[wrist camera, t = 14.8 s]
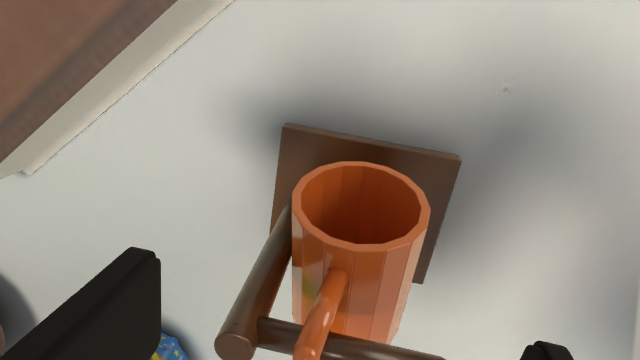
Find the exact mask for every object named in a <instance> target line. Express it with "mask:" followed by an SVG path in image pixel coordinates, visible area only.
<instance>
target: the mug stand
mask: <svg viewBox="0 0 640 360" xmlns="http://www.w3.org/2000/svg"><path fill="white" fill-rule="evenodd" d="M341 161H364V162H369V163H373V164H378V165H382V166H387V167H389V168H391V169H393V170H395V171H397V172H399V173H401V174H403V175H405V176H407V177H409V178H410V179H411V180H412V181H413V182H414V183H415V184H416V185H417V186H418V187H419V188H420V189H422V190H423V192H424V194H425V196H426V199H427V201H428V203H429V206H430V208H431V212H430V217H429V222H428V227H427V231H426V234H425V238H424V241H423V245H422V248H421V252H420V255H419V259H418V262H417V265H416V269H415V272H414V276H413V279H412V282H413V283H418V284H423V281H424V278H425V275H426V272H427V269H428V266H429V263H430V259H431V256H432V253H433V250H434V247H435V244H436V241H437V237H438V234H439V231H440V228H441V225H442V222H443V219H444V215H445V212H446V209H447V206H448V203H449V200H450V196H451V193H452V190H453V187H454V184H455V181H456V178H457V174H458V171H459V168H460V165H461V159H460V158H459V156H458V155H453V154H448V153H442V152H437V151H432V150H427V149H421V148H416V147H411V146H406V145H400V144H395V143H390V142H385V141H379V140H374V139H369V138H364V137H358V136H353V135H348V134H342V133H337V132H332V131H327V130H321V129H316V128H311V127H306V126H300V125H295V124H290V123H286V124H285V125H284V126H283V127H282V134H281V142H280V151H279V159H278V168H277V176H276V184H275V193H274V201H273V209H272V218H271V226H270V234H269V238H268V239H267V241H266V243H265V245H264V247H263V249H262V251H261V253H260V255H259V257H258V259H257V261H256V262H255V264H254V266H253V268H252V270H251V272H250V274H249V276H248V278H247V280H246V282H245V283H244V285H243V287H242V289H241V291H240V293H239V295H238V297H237V299H236V301H235V303H234V305H233V306H232V308H231V310H230V312H229V314H228V316H227V318H226V320H225V322H224V324H223V326H222V328H221V329H220V331H219V333H218V335H217V337H216V339H215V342H214V347H215V351H216V353H217V354H218V356H219V357H220V358H221V359H223V360H251V359H252V357H253V355H254V353H255V350H256V348H257V347H259V348H263V349H267V350H271V351H276V352H280V353H284V354H288V355H293V349H294V346H295V344H296V342H297V339H298V337H299V335H300V333H301V330H302V328H303V326H304V325H300V324H296V323H291V322H287V321H282V320H278V319H274V318H269V317H268V316H269V314H270V311H271V308H272V306H273V303H274V300H275V298H276V295H277V293H278V290H279V287H280V285H281V282H282V279H283V277H284V274H285V272H286V269H287V266H288V264H289V261H290V258H291V256H292V191H293V190H294V188H295V187H296V185H297V184H298V182H299V181H300V179H301V178H302V177H303V176H304V175H306V174H308V173H309V172H311V171H313V170H314V169H316V168H317V167H320V166H323V165H327V164H332V163H336V162H341ZM320 360H446V359H444V358H442V357H440V356H436V355H432V354H427V353H423V352H418V351H414V350H410V349H405V348H401V347H396V346H392V345H388V344H383V343H379V342H375V341H370V340H366V339H361V338H357V337H353V336H348V335H344V334H339V333H335V332H331V331H329V333H328V336H327V339H326V342H325V344H324V347H323V350H322V353H321V355H320Z"/></svg>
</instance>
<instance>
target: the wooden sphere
mask: <svg viewBox="0 0 640 360" xmlns="http://www.w3.org/2000/svg"><path fill="white" fill-rule="evenodd" d="M3 354H5V337H4V332H3V329H2V326H1V323H0V357H1V356H2V355H3Z"/></svg>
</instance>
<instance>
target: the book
mask: <svg viewBox="0 0 640 360" xmlns="http://www.w3.org/2000/svg"><path fill="white" fill-rule="evenodd" d="M232 1H233V0H0V179H2V178H4V177H7V176H9V175H11V174H14V173H16V172H19V171H21V170H22V171H23V172H25V173H26V174H28V175H29V176H30V175H31V174H32V173H33V172H35V171H36V170H37V169H38V168H39V167H40V166H42V165H43V164H44V163H45V162H46V161H47V160H49V159H50V158H51V157H52V156H53V155H54V154H56V153H57V152H58V151H59V150H60V149H61V148H63V147H64V146H65V145H66V144H67V143H68V142H69V141H71V140H72V139H73V138H74V137H75V136H76V135H78V134H79V133H80V132H81V131H82V130H83V129H85V128H86V127H87V126H88V125H89V124H90V123H92V122H93V121H94V120H95V119H96V118H97V117H98V116H100V115H101V114H102V113H103V112H104V111H105V110H107V109H108V108H109V107H110V106H111V105H112V104H114V103H115V102H116V101H117V100H118V99H119V98H121V97H122V96H123V95H124V94H125V93H126V92H128V91H129V90H130V89H131V88H132V87H133V86H134V85H136V84H137V83H138V82H139V81H140V80H141V79H143V78H144V77H145V76H146V75H147V74H148V73H150V72H151V71H152V70H153V69H154V68H155V67H157V66H158V65H159V64H160V63H161V62H162V61H163V60H165V59H166V58H167V57H168V56H169V55H170V54H172V53H173V52H174V51H175V50H176V49H177V48H179V47H180V46H181V45H182V44H183V43H184V42H186V41H187V40H188V39H189V38H190V37H191V36H193V35H194V34H195V33H196V32H197V31H198V30H199V29H201V28H202V27H203V26H204V25H205V24H206V23H208V22H209V21H210V20H211V19H212V18H213V17H215V16H216V15H217V14H218V13H219V12H220V11H222V10H223V9H224V8H225V7H226V6H227V5H228V4H230V3H231V2H232Z"/></svg>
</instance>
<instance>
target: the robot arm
mask: <svg viewBox="0 0 640 360" xmlns="http://www.w3.org/2000/svg"><path fill="white" fill-rule="evenodd" d="M160 339H161V262H160V259H158V258H156V255H155V253H154V252H153V251H149V250H145V249H140V248H136V247H130V248H128V249H127V250H126V251H124V252H123V253H122V254H121V255H120V256H119V257H117V258H116V259H115V260H114V261H113V262H112V263H110V264H109V265H108V266H107V267H106V268H105V269H103V270H102V271H101V272H100V273H99V274H98V275H96V276H95V277H94V278H93V279H92V280H91V281H89V282H88V283H87V284H86V285H85V286H84V287H82V288H81V289H80V290H79V291H78V292H77V293H75V294H74V295H73V296H71V297H70V298H69V299H68V300H67V301H65V302H64V303H63V304H62V305H61V306H60V307H58V308H57V309H56V310H55V311H54V312H53V313H51V314H50V315H49V316H48V317H47V318H46V319H44V320H43V321H42V322H41V323H40V324H39V325H37V326H36V327H35V328H34V329H33V330H32V331H30V332H29V333H28V334H27V335H26V336H25V337H23V338H22V339H21V340H20V341H19V342H18V343H16V344H15V345H14V346H13V347H12V348H10V349H9V350H8V351H7V352H6V353H5V354H3V355H2V356H1V357H0V360H150V358H151V357H152V356H153V354H154V353H155V351H156V350H157V348H158V346H159V343H160ZM520 360H574V359H573V357H572V356H571V354H570V352H569V351H568V349H567V348H566V347H564V346H561V345H556V344H552V343H548V342H543V341H537V342H535V343H534V345H528V346H527V347H526V348H525V350H524V352H523V354H522V356H521V359H520Z"/></svg>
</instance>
